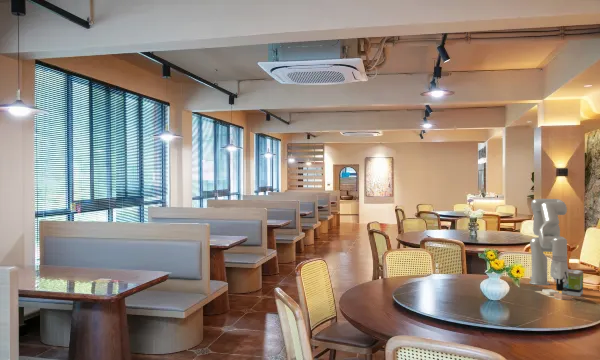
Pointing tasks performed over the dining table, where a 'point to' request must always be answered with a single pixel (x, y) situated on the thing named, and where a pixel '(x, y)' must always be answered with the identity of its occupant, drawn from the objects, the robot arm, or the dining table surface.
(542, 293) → the board
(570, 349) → the dining table surface
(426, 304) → the dining table surface
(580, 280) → the tea box
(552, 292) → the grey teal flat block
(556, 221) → the robot arm
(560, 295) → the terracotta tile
